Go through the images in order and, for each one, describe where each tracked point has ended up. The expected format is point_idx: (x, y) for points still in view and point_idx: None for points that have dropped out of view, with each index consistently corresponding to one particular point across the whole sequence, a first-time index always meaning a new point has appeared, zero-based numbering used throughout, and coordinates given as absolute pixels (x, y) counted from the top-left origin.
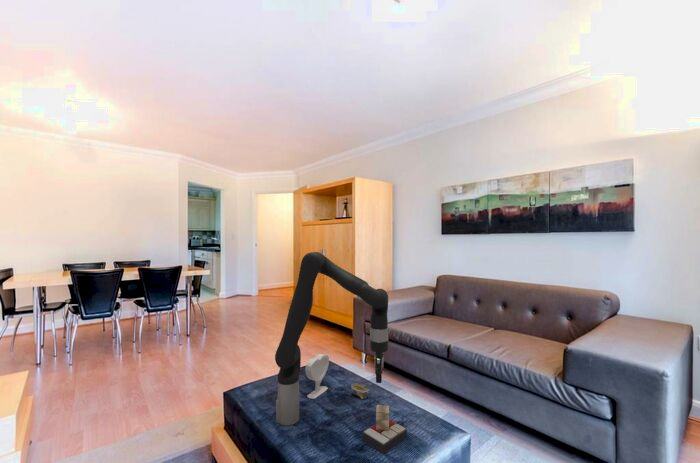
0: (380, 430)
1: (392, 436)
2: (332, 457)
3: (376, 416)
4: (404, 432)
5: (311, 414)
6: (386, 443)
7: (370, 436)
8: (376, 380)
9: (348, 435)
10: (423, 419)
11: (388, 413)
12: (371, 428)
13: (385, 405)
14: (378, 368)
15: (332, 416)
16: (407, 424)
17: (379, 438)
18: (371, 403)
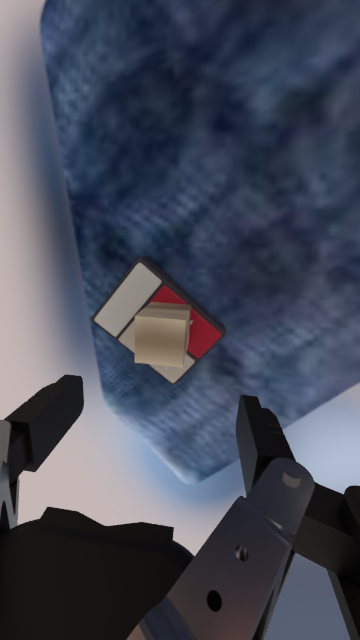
0: None
1: (127, 346)
2: (63, 171)
3: (139, 312)
4: (163, 376)
5: (290, 17)
6: (100, 327)
7: (122, 283)
8: (58, 384)
9: (163, 210)
10: None
11: (135, 359)
12: (162, 286)
13: (183, 354)
14: (246, 431)
15: (271, 129)
16: (224, 385)
17: (113, 309)
18: (354, 284)
